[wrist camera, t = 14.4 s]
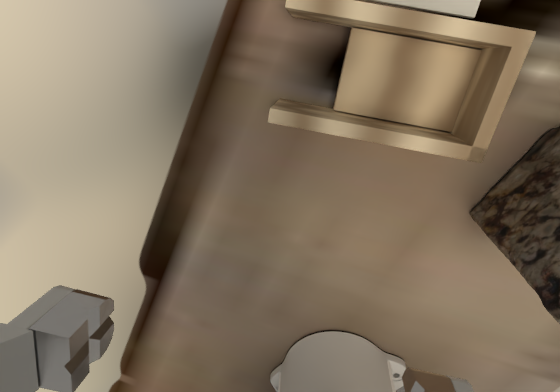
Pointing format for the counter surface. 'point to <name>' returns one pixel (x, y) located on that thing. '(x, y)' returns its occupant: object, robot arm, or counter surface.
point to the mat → (439, 6)
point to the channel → (413, 78)
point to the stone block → (529, 219)
